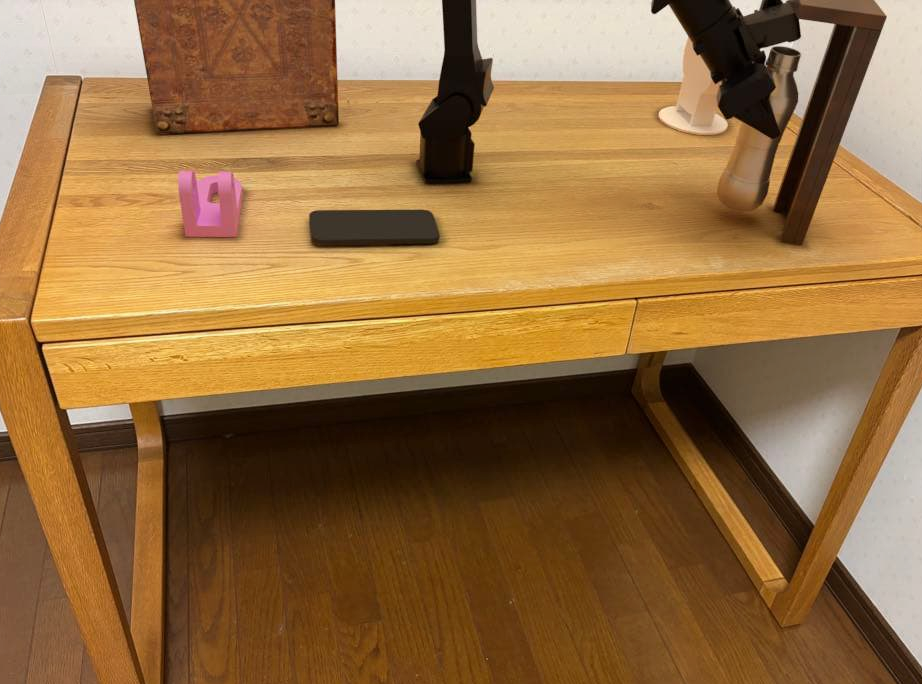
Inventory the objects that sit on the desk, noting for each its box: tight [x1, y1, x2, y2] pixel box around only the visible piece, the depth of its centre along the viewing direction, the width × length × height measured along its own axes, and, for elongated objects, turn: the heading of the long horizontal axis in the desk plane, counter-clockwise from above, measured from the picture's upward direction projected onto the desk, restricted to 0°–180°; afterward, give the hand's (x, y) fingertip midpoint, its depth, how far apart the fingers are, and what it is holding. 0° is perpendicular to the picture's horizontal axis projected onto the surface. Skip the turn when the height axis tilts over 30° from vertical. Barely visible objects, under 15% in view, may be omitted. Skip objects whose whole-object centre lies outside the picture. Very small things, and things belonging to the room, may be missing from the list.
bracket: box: [177, 170, 244, 238], centre depth 100 cm, size 13×6×7 cm, turn 9°
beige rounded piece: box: [658, 36, 729, 136], centre depth 134 cm, size 12×11×15 cm
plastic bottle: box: [716, 45, 802, 213], centre depth 106 cm, size 6×7×20 cm
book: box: [133, 0, 340, 135], centre depth 114 cm, size 25×9×30 cm, turn 110°
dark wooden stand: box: [772, 0, 888, 246], centre depth 104 cm, size 9×10×28 cm
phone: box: [308, 209, 440, 246], centre depth 101 cm, size 7×1×15 cm
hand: (773, 127), depth 105 cm, fingers closed on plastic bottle, 6 cm apart
